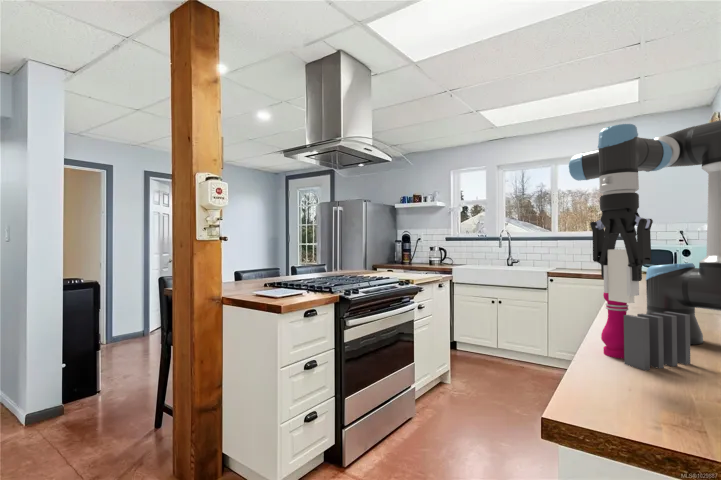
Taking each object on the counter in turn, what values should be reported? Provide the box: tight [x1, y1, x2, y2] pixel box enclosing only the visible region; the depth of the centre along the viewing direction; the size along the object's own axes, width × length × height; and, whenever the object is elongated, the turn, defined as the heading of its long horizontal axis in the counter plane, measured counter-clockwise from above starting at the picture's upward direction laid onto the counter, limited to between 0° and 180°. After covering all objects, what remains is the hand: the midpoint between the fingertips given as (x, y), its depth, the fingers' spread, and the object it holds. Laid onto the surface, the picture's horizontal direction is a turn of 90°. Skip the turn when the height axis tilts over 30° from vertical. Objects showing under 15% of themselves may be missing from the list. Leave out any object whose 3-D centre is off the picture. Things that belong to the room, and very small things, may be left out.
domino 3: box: [651, 313, 678, 367], centre depth 95 cm, size 2×5×12 cm, turn 17°
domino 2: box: [636, 313, 665, 369], centre depth 93 cm, size 2×5×12 cm, turn 17°
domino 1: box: [624, 314, 651, 371], centre depth 92 cm, size 2×5×12 cm, turn 17°
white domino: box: [608, 248, 635, 304], centre depth 89 cm, size 2×5×12 cm, turn 17°
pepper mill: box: [600, 292, 629, 359], centre depth 101 cm, size 7×7×20 cm
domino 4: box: [664, 312, 691, 366], centre depth 96 cm, size 2×5×12 cm, turn 17°
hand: (621, 293), depth 89 cm, fingers closed on white domino, 5 cm apart
